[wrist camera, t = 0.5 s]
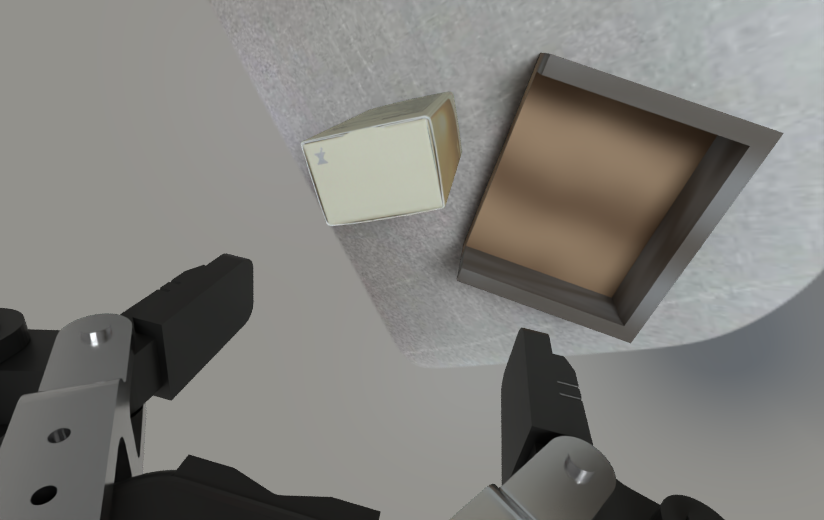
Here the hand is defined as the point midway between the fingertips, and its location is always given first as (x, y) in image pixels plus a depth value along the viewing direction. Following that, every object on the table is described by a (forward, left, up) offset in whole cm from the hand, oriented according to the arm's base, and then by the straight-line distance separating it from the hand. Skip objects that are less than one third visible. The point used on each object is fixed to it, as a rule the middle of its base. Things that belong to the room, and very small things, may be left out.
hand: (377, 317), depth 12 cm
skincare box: (-1, -3, -21) cm, 21 cm away
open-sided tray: (-1, +9, -20) cm, 22 cm away
